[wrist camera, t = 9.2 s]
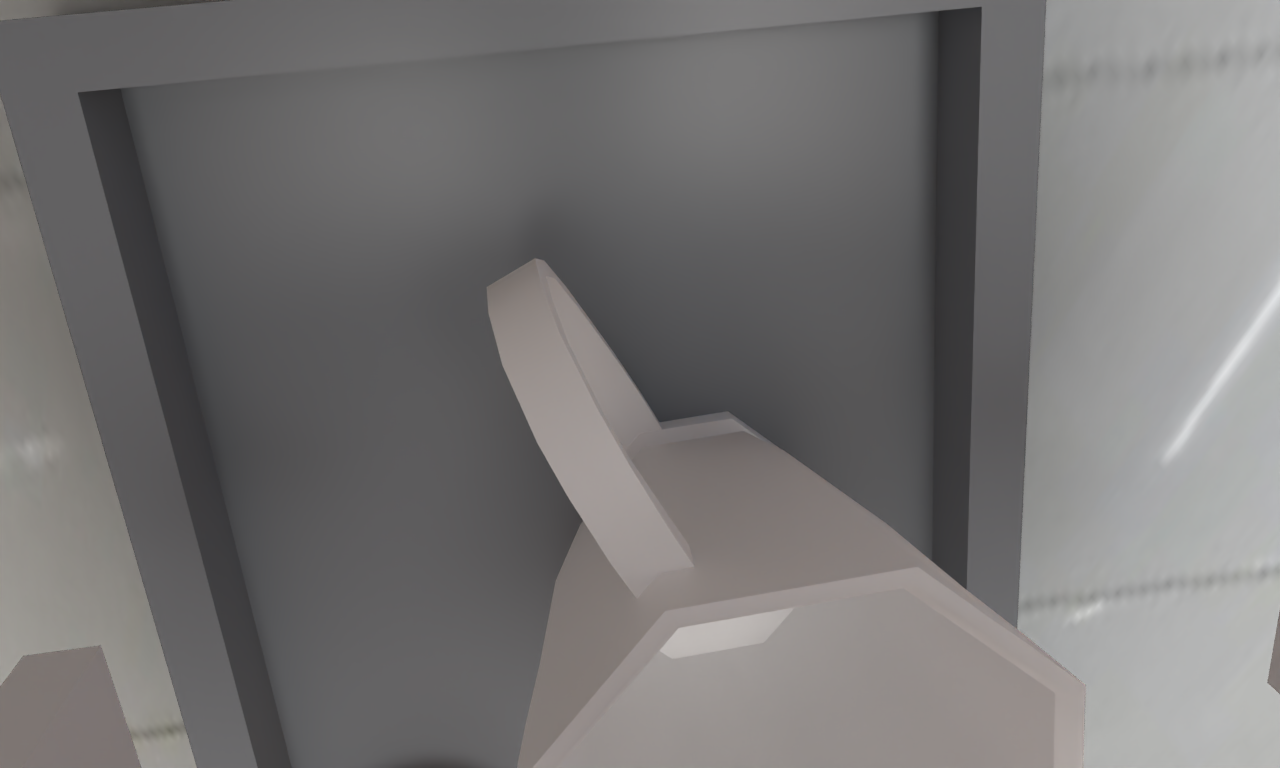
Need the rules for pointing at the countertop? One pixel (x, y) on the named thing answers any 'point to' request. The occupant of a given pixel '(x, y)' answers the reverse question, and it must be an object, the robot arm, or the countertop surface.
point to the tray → (459, 320)
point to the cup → (746, 595)
